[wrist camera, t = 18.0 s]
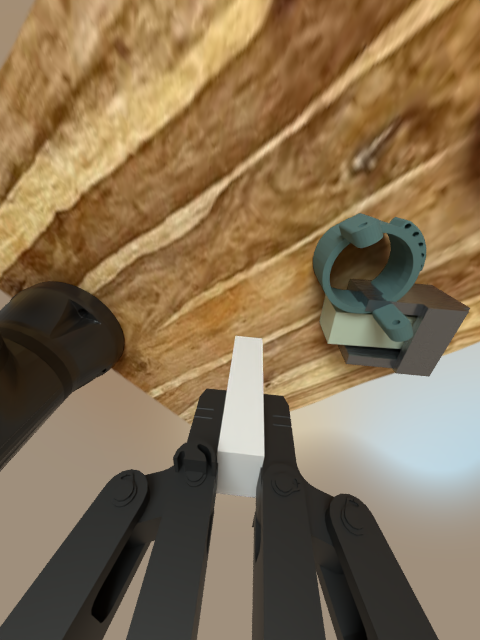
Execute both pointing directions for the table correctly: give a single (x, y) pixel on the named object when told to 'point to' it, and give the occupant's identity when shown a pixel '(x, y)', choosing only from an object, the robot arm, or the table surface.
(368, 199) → the table surface
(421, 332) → the endcap
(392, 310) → the bracket
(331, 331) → the block
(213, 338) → the table surface
